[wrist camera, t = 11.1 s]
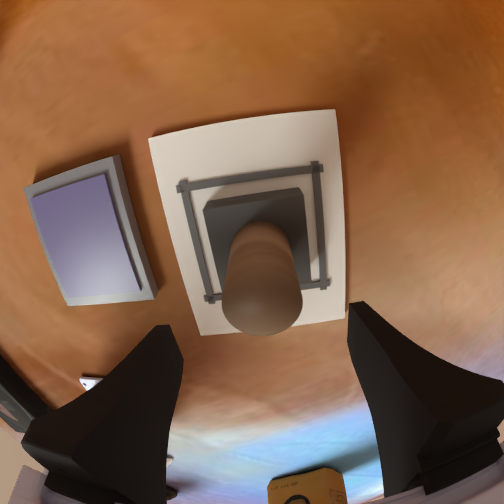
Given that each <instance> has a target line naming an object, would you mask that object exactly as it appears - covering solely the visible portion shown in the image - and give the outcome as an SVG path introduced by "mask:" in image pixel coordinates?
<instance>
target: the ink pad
mask: <svg viewBox="0 0 504 504" xmlns="http://www.w3.org/2000/svg"><path fill="white" fill-rule="evenodd" d="M24 191H25V195H26V198H27V202H28V205H29V208H30V212H31V215H32V218H33V221H34V224H35V227H36V230H37V233H38V236H39V239H40V241H41V244H42V247H43V249H44V252H45V255H46V257H47V260H48V262H49V265H50V267H51V270H52V272H53V274H54V277H55V279H56V281H57V284H58V286H59V288H60V290H61V292H62V295H63V297H64V299H65V301H66V303H67V305H68V306H77V305H91V304H105V303H118V302H130V301H141V300H153V299H155V297H156V295H157V293H158V288H157V285H156V282H155V279H154V276H153V273H152V270H151V267H150V264H149V261H148V258H147V255H146V251H145V248H144V245H143V242H142V238H141V235H140V231H139V228H138V225H137V221H136V217H135V214H134V210H133V206H132V203H131V199H130V195H129V191H128V187H127V183H126V179H125V175H124V171H123V166H122V162H121V158H120V154H117V155H114V156H110V157H107V158H104V159H101V160H98V161H94V162H91V163H88V164H85V165H82V166H79V167H77V168H74V169H71V170H68V171H65V172H63V173H60V174H57V175H54V176H52V177H49V178H47V179H44V180H42V181H39V182H37V183H34V184H32V185H29V186H27V187H25V188H24Z"/></svg>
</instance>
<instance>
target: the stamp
mask: <svg viewBox="0 0 504 504" xmlns="http://www.w3.org/2000/svg"><path fill="white" fill-rule="evenodd" d="M203 215H204V219H205V224H206V228H207V233H208V237H209V241H210V245H211V250H212V254H213V258H214V262H215V266H216V270H217V275H218V279H219V283H220V287H221V291H222V295H223V296H222V311H223V313H224V316H225V318H226V319H227V320H228V322H229V323H230V324H231V325H232V326H233V327H235V328H236V329H238V330H239V331H241V332H243V333H246V334H250V335H255V336H269V335H274V334H277V333H280V332H282V331H284V330H286V329H287V328H289V327H290V326H291V325H293V324H294V323H295V321H296V320H297V319H298V317H299V316H300V314H301V311H302V307H303V298H302V293H301V289H300V285H301V284H308V283H312V280H311V267H310V254H309V242H308V231H307V221H306V211H305V202H304V194H303V193H302V191H301V190H300V188H299V187H296V188H289V189H281V190H274V191H267V192H260V193H253V194H247V195H240V196H234V197H228V198H222V199H216V200H210V201H207V203H206V204H205V206H204V208H203Z"/></svg>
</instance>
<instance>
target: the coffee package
mask: <svg viewBox="0 0 504 504" xmlns="http://www.w3.org/2000/svg"><path fill="white" fill-rule="evenodd" d="M267 491H268V503H269V504H347V496H346V490H345V485H344V479H343V475H342V474H341V473H338V472H336V471H335V470H333V469H329V468H322V469H319V470H315V471H311V472H307V473H304V474H298V475H292V476H288V477H285V478H281V479H276V480H271V481H270V482H269V485H268V486H267Z"/></svg>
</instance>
